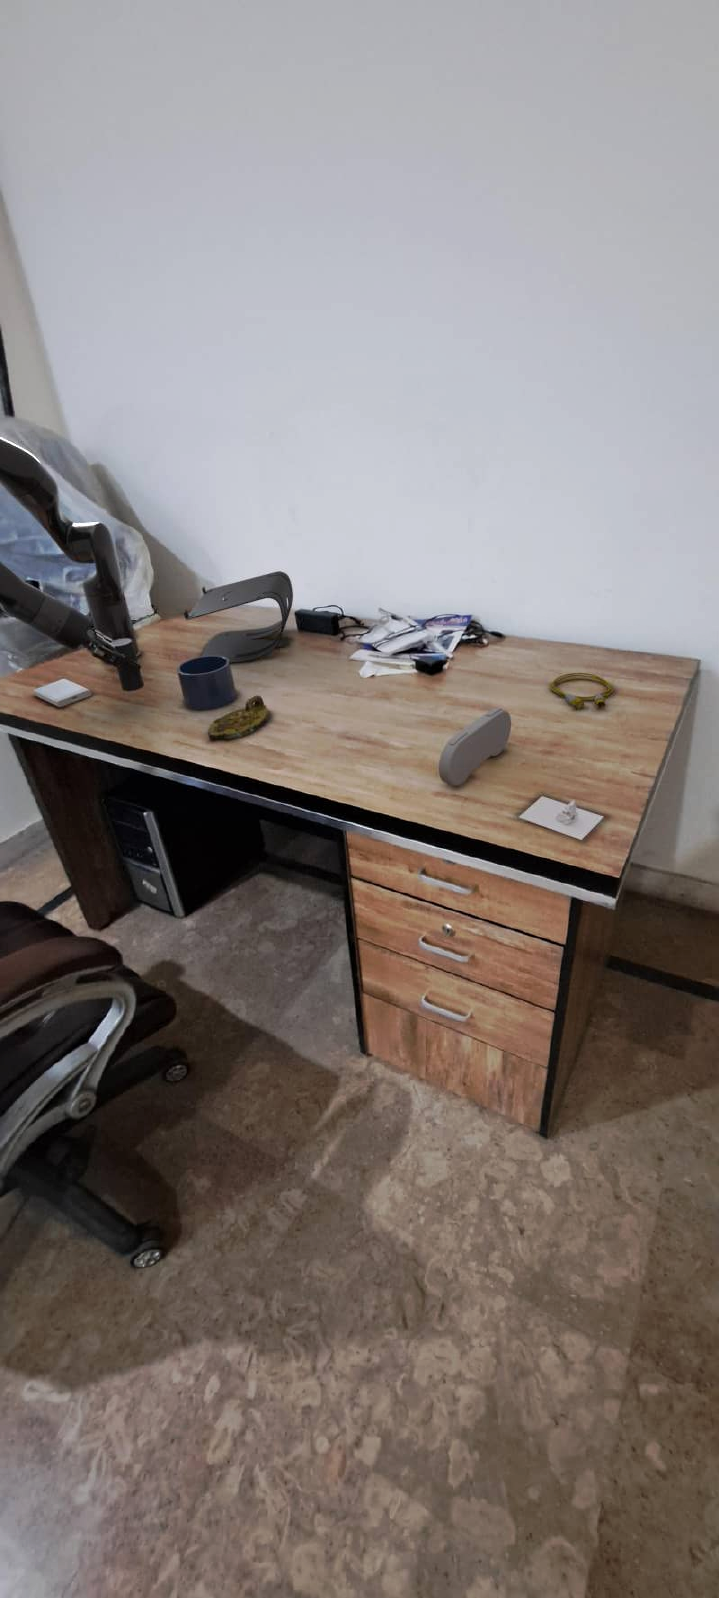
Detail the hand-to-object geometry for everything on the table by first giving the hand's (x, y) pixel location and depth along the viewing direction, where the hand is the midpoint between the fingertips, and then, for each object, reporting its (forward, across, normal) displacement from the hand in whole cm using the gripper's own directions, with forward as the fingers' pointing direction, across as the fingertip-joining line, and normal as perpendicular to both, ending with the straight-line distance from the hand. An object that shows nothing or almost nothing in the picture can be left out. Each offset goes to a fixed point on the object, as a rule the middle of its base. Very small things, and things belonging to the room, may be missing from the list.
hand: (136, 665), depth 143 cm
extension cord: (+63, -46, -49) cm, 92 cm away
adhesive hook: (+41, -79, -28) cm, 93 cm away
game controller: (+39, -60, -26) cm, 76 cm away
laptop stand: (+28, +25, -14) cm, 40 cm away
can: (+16, -4, -3) cm, 17 cm away
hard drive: (-5, +19, +19) cm, 27 cm away
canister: (+2, 0, +4) cm, 5 cm away
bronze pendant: (+17, -21, -4) cm, 28 cm away
